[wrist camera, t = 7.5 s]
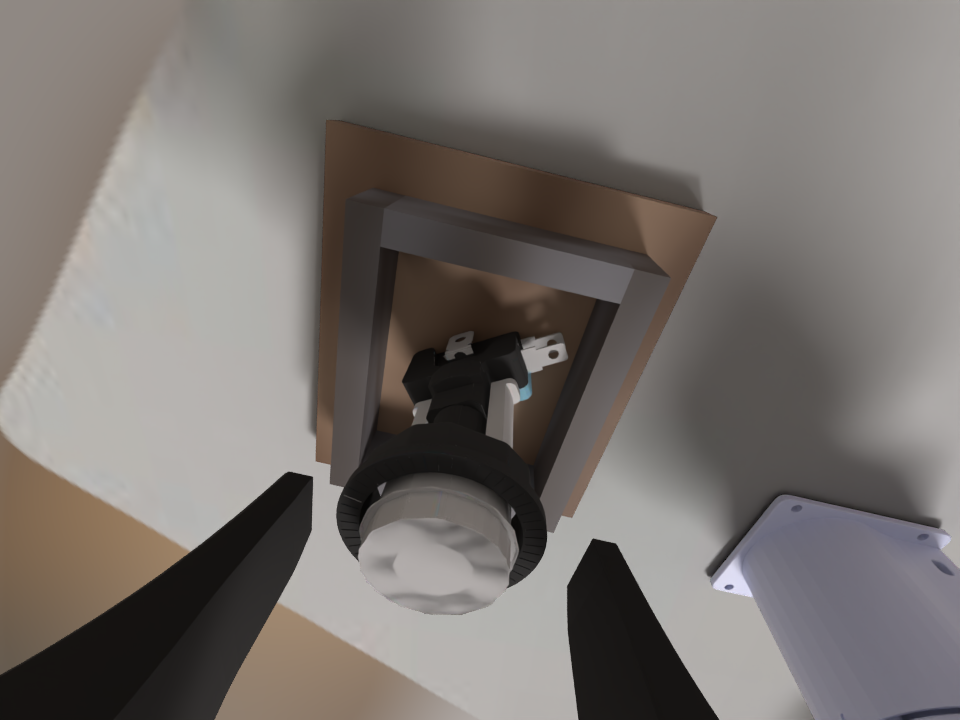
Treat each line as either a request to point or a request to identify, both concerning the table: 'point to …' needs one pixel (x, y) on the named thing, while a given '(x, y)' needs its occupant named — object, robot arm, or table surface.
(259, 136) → the table surface
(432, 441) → the push button
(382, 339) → the socket board
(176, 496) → the table surface
